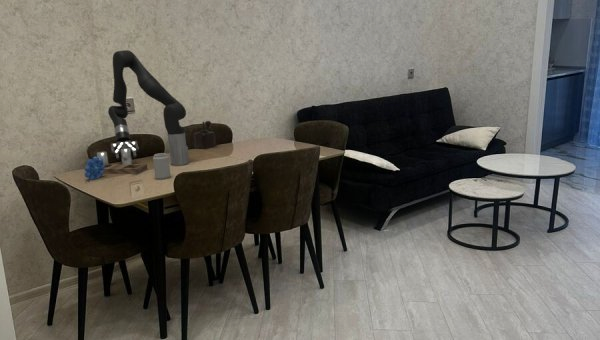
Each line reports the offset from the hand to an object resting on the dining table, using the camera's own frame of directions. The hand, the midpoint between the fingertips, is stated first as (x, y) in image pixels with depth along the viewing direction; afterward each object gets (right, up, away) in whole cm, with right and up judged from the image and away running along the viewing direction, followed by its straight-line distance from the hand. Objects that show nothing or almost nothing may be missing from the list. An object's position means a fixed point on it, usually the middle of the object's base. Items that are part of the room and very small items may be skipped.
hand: (126, 158), depth 280 cm
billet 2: (0, -4, +2) cm, 5 cm away
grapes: (-8, -12, -24) cm, 27 cm away
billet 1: (-9, -7, -9) cm, 14 cm away
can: (+27, -10, -25) cm, 38 cm away
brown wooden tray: (-1, -8, -10) cm, 13 cm away
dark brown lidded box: (+35, +8, +49) cm, 61 cm away
